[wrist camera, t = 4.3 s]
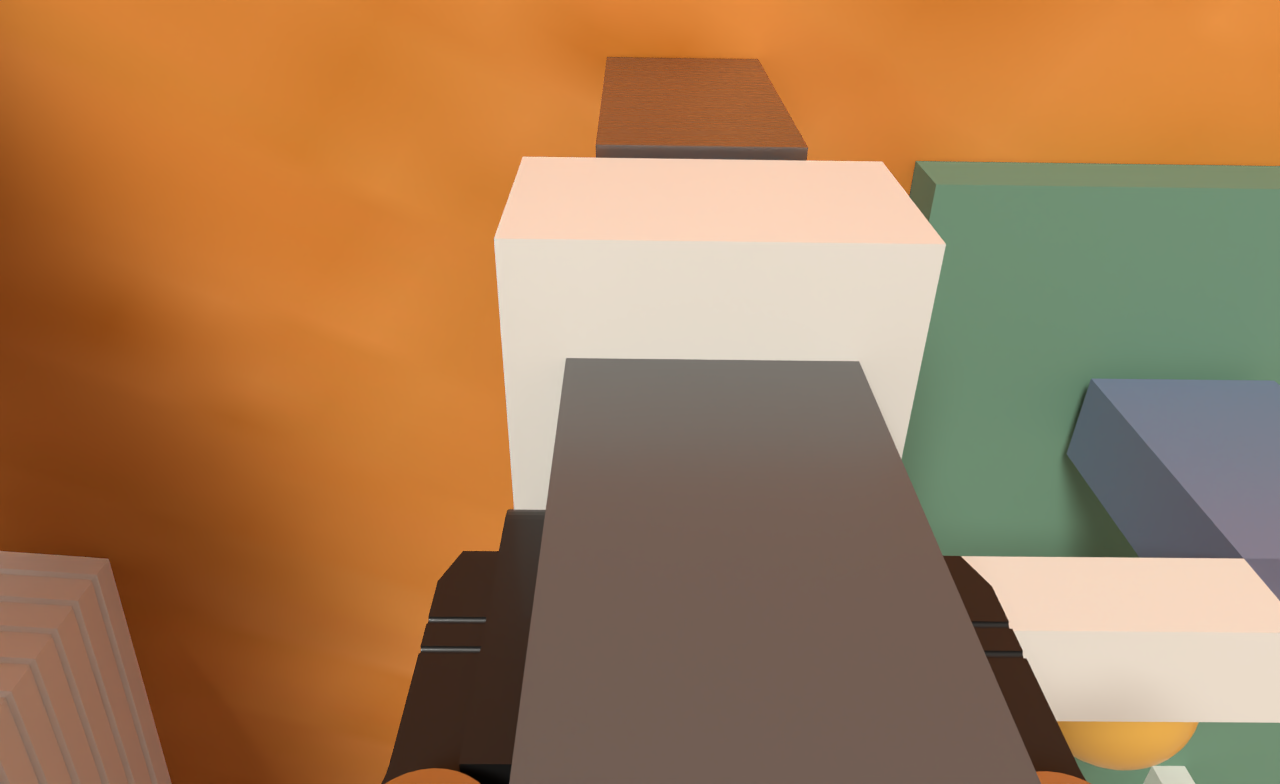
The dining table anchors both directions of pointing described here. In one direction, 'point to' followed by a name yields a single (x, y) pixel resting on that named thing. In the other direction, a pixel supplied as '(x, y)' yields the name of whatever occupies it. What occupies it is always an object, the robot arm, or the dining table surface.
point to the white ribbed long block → (70, 678)
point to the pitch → (1083, 355)
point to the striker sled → (827, 499)
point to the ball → (1126, 742)
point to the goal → (1168, 775)
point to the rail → (694, 111)
